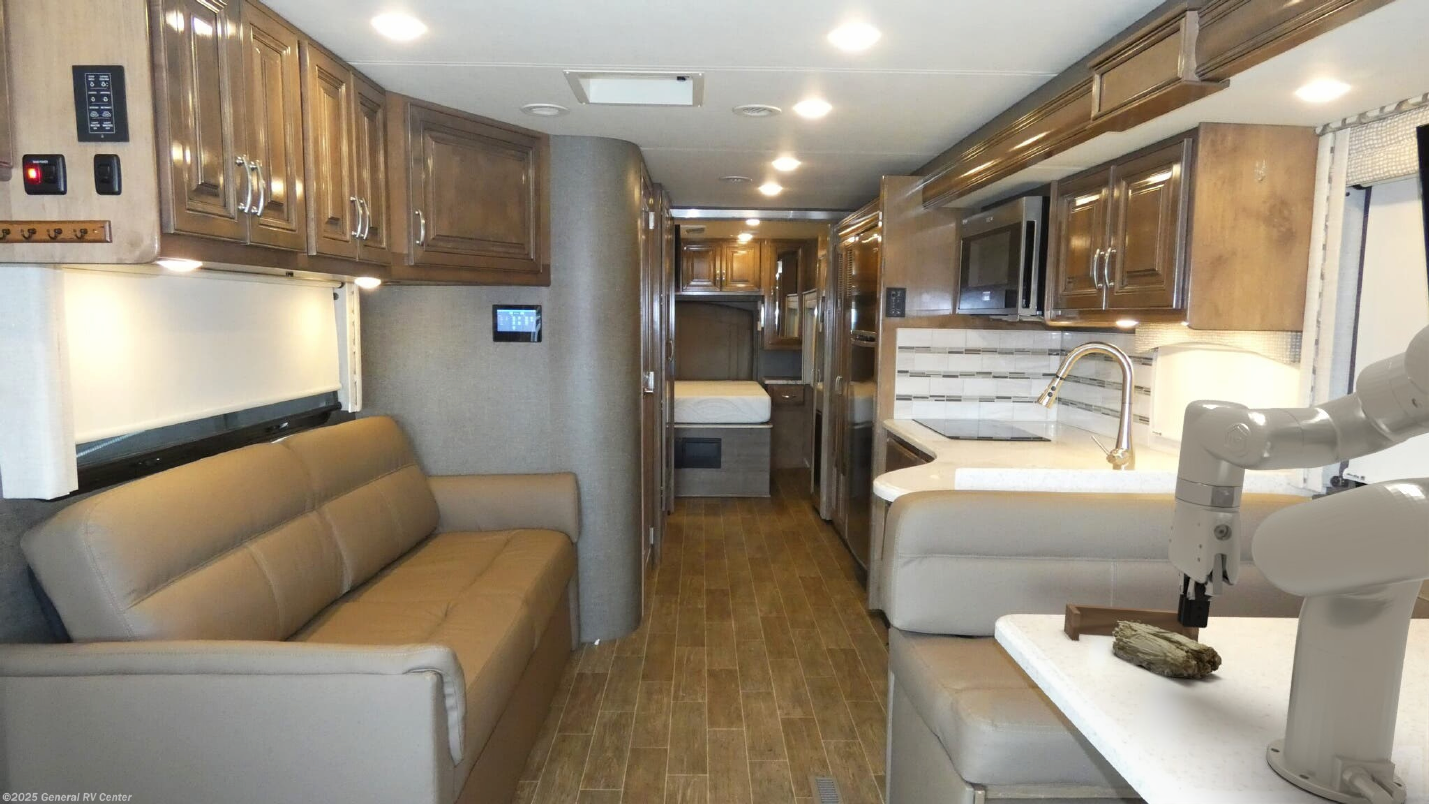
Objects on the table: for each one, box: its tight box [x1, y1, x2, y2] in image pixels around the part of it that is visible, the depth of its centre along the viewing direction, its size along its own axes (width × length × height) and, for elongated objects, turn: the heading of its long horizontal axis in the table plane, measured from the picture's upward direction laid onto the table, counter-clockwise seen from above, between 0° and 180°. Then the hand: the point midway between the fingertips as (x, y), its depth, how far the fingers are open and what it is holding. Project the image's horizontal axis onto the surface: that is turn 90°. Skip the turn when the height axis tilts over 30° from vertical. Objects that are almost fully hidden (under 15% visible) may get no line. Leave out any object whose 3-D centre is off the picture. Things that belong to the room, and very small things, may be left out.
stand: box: [1063, 603, 1200, 643], centre depth 130 cm, size 4×19×4 cm, turn 84°
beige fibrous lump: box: [1112, 620, 1223, 680], centre depth 121 cm, size 14×10×5 cm, turn 31°
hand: (1191, 624), depth 110 cm, fingers closed
